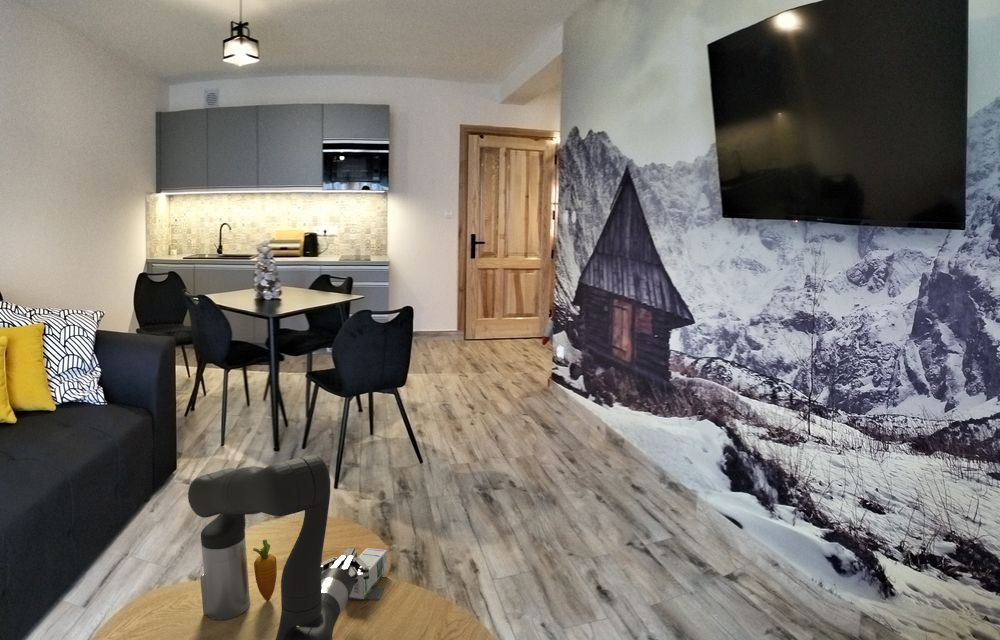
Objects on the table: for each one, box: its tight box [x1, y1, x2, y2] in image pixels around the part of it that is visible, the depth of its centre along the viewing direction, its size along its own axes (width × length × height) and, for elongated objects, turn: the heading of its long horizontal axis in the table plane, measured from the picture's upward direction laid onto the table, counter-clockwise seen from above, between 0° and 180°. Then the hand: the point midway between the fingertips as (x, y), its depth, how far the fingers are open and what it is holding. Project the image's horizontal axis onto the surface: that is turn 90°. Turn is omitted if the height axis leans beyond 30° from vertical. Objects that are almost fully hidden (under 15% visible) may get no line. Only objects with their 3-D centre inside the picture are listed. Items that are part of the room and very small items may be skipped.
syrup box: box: [349, 547, 388, 600], centre depth 160 cm, size 6×6×14 cm
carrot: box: [252, 539, 278, 602], centre depth 152 cm, size 5×5×15 cm
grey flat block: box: [348, 587, 384, 601], centre depth 156 cm, size 8×4×1 cm, turn 88°
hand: (351, 551), depth 152 cm, fingers closed
